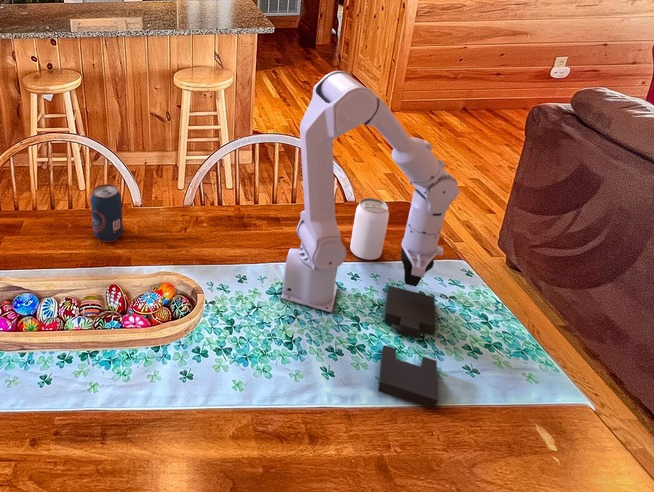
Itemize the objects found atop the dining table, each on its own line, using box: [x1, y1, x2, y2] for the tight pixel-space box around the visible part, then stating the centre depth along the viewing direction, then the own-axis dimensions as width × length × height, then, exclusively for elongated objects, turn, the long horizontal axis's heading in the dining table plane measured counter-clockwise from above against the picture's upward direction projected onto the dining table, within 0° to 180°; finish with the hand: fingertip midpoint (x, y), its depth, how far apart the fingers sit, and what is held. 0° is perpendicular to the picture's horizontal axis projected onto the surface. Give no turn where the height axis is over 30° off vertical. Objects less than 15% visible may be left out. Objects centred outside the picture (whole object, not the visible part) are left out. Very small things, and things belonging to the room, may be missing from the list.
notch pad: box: [377, 344, 439, 410], centre depth 81 cm, size 8×8×2 cm
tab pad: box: [384, 285, 436, 339], centre depth 93 cm, size 8×10×2 cm
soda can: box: [90, 183, 124, 243], centre depth 116 cm, size 7×7×12 cm
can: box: [349, 197, 390, 261], centre depth 109 cm, size 6×6×12 cm
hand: (410, 283), depth 100 cm, fingers closed
